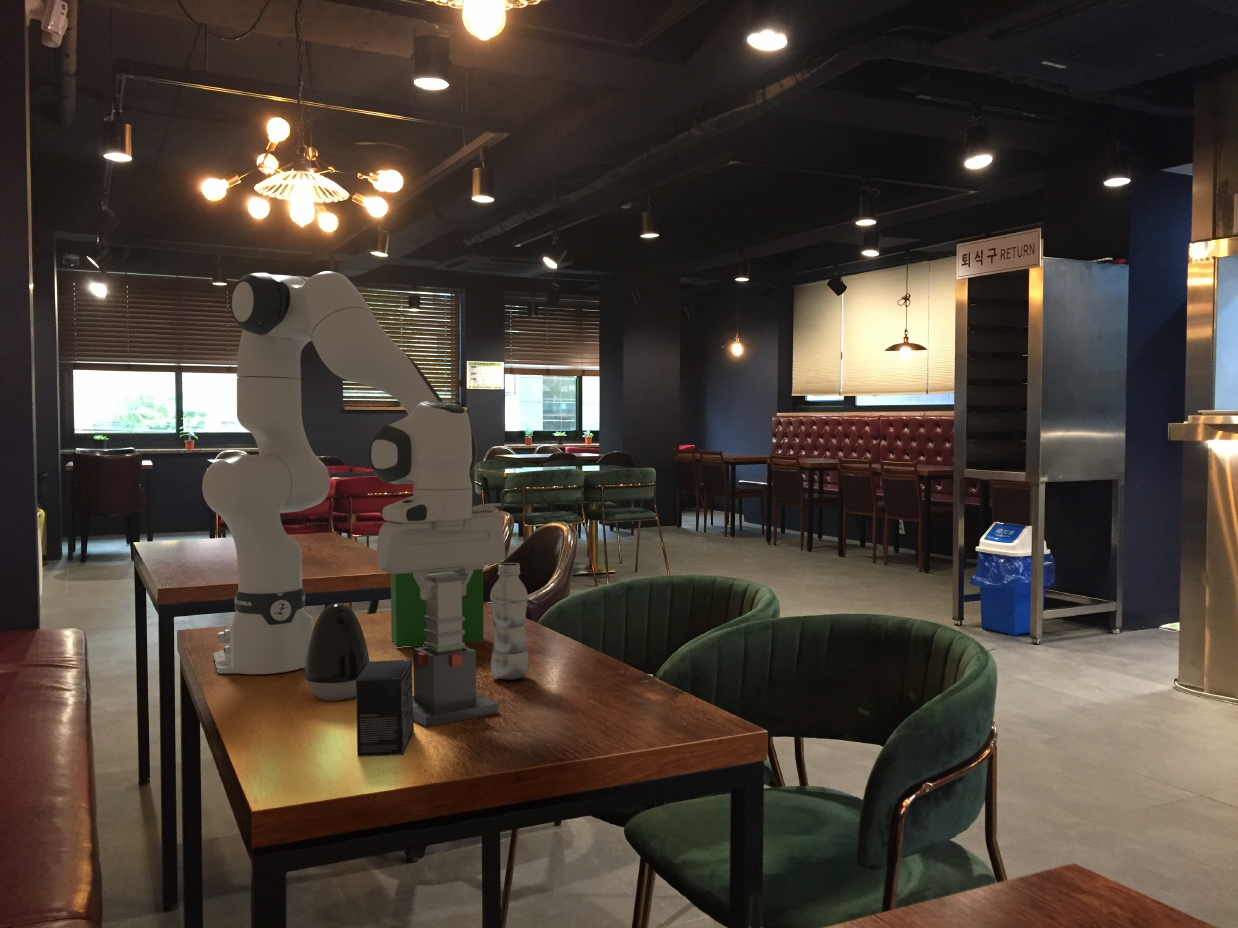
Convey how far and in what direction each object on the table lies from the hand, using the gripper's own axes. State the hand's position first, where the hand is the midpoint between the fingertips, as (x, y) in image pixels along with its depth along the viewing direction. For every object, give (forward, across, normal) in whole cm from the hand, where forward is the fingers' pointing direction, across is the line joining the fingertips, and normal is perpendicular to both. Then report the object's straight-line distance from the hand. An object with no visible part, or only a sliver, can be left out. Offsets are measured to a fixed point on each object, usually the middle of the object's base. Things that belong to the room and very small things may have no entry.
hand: (443, 597), depth 147 cm
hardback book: (+18, -22, -47) cm, 55 cm away
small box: (+18, +14, +9) cm, 24 cm away
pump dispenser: (+18, +10, -18) cm, 27 cm away
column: (+11, 0, 0) cm, 11 cm away
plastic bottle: (+18, -18, -11) cm, 27 cm away
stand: (+18, 0, 0) cm, 18 cm away
